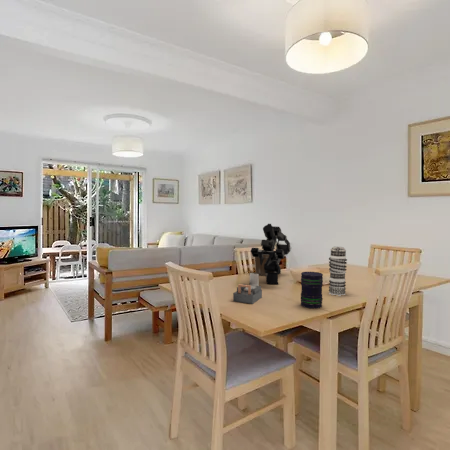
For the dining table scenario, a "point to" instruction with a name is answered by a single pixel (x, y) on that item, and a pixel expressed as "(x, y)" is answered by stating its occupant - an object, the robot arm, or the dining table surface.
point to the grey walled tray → (247, 295)
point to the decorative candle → (337, 271)
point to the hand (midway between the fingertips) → (263, 265)
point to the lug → (244, 286)
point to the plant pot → (259, 267)
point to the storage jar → (311, 289)
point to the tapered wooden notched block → (253, 281)
